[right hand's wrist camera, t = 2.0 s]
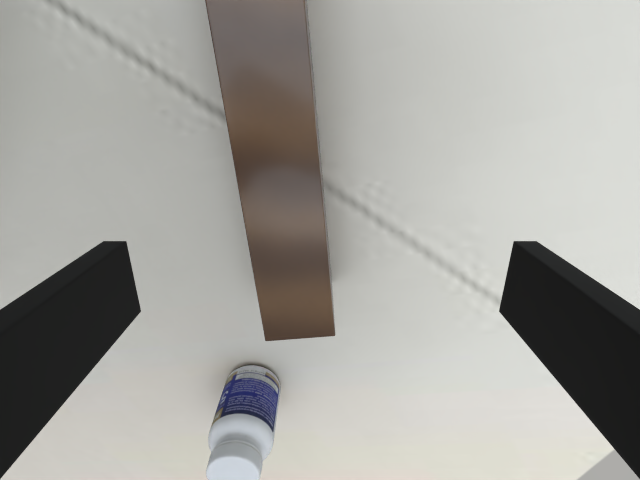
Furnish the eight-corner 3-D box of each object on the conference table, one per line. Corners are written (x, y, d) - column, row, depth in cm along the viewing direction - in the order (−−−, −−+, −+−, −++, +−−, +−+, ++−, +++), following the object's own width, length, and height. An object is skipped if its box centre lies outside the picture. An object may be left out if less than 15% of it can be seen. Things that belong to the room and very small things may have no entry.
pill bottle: (223, 363, 34) (192, 448, 26) (280, 363, 34) (267, 449, 26) (228, 406, 36) (201, 499, 28) (281, 406, 36) (270, 499, 28)
